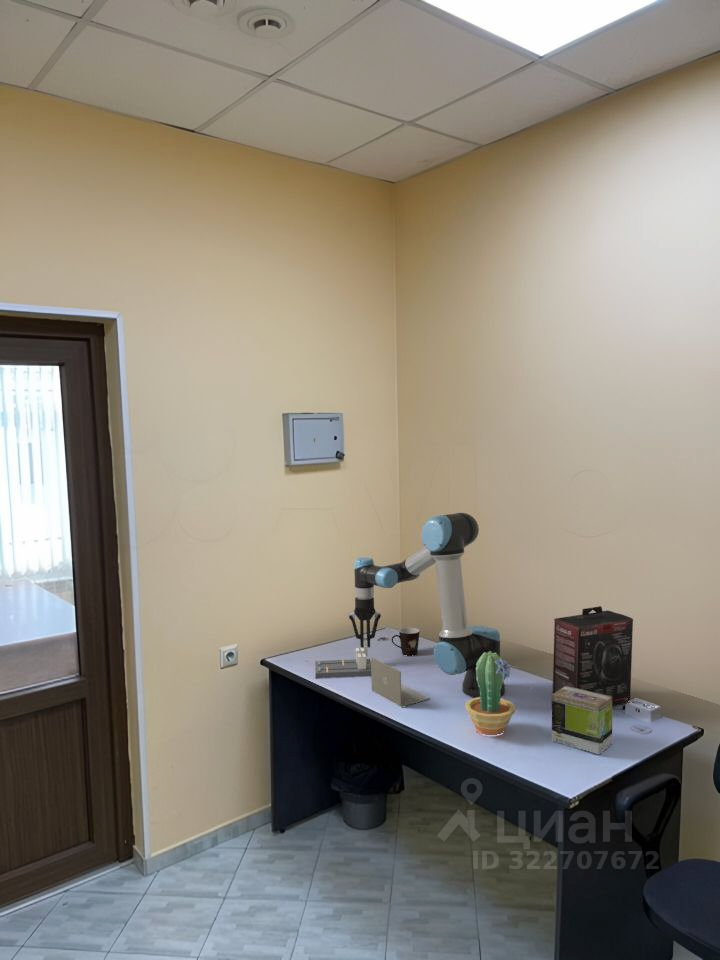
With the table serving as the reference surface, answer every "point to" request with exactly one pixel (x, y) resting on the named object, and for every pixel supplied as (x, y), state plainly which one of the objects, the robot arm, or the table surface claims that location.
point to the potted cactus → (490, 696)
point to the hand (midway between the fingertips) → (365, 655)
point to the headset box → (594, 653)
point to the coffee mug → (408, 640)
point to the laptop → (392, 685)
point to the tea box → (582, 719)
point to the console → (341, 668)
